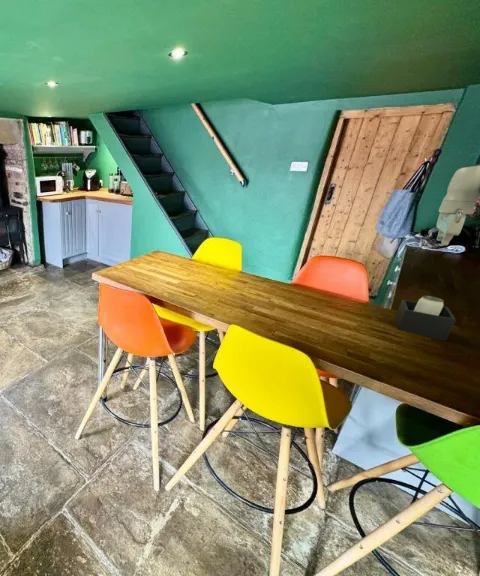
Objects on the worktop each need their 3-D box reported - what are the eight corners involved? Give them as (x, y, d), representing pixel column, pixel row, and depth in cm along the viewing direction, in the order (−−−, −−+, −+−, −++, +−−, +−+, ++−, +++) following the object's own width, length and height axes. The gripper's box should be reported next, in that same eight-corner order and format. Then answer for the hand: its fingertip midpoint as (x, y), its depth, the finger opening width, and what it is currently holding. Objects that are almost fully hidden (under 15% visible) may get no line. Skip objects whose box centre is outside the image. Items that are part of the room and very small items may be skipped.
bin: (438, 327, 117) (448, 307, 114) (445, 341, 108) (456, 319, 104) (394, 318, 124) (402, 299, 121) (397, 330, 115) (405, 310, 112)
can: (427, 326, 117) (441, 297, 112) (433, 332, 112) (448, 303, 107) (405, 321, 120) (418, 293, 115) (410, 328, 115) (424, 299, 110)
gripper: (475, 211, 109) (459, 248, 114) (461, 206, 124) (447, 239, 129) (450, 210, 113) (435, 246, 118) (439, 205, 127) (426, 237, 133)
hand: (441, 242), depth 123 cm, fingers open, 8 cm apart
